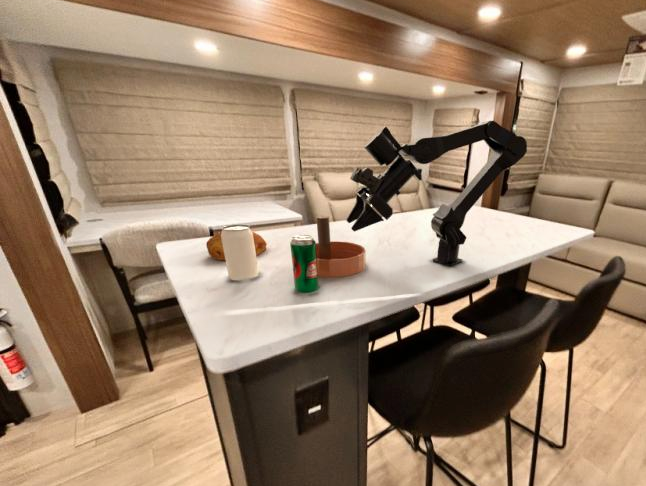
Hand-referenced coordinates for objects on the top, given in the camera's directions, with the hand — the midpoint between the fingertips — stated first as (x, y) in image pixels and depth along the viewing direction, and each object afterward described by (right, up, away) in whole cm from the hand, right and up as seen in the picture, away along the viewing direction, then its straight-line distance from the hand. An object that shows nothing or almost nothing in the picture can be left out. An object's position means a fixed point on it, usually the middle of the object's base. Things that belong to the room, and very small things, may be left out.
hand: (350, 225), depth 78 cm
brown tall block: (-7, -10, +3) cm, 13 cm away
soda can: (-8, -16, -10) cm, 21 cm away
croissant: (-34, -6, +12) cm, 36 cm away
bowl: (-5, -10, +4) cm, 12 cm away
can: (-25, -13, -4) cm, 28 cm away
